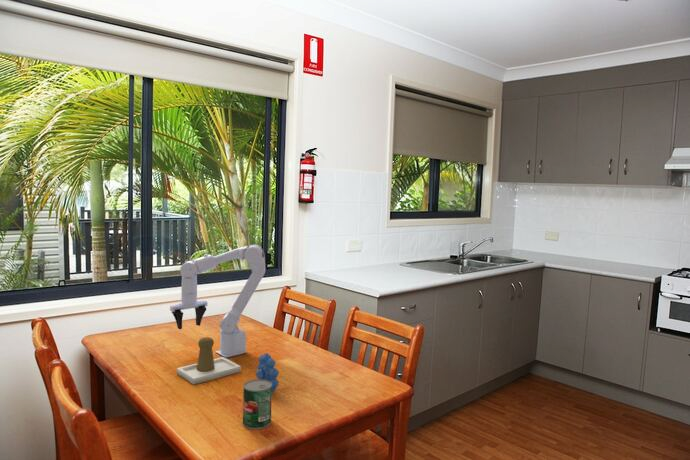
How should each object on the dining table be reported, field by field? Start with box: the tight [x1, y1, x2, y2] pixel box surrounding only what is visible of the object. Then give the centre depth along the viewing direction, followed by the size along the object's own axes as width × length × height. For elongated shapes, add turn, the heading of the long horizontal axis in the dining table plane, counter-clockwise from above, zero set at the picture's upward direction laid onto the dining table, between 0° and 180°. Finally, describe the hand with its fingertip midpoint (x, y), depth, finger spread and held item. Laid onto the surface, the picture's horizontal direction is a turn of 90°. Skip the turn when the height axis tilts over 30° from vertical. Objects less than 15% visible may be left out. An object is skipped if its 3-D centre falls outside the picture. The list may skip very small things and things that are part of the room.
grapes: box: [255, 352, 280, 394], centre depth 159 cm, size 12×7×12 cm, turn 36°
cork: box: [197, 336, 215, 372], centre depth 173 cm, size 6×6×11 cm
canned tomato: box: [242, 378, 273, 430], centre depth 137 cm, size 8×8×11 cm
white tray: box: [176, 356, 242, 386], centre depth 172 cm, size 18×12×2 cm, turn 134°
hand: (189, 326), depth 191 cm, fingers open, 7 cm apart
